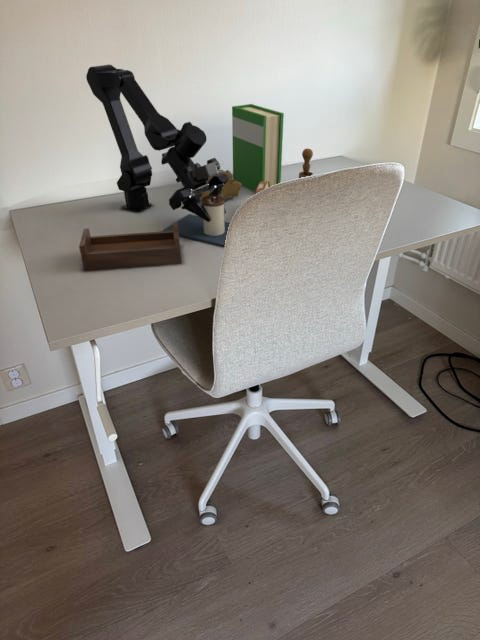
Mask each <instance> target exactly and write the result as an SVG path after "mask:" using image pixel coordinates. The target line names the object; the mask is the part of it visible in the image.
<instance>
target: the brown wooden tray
mask: <svg viewBox="0 0 480 640" xmlns="http://www.w3.org/2000/svg"><path fill="white" fill-rule="evenodd" d="M172 224H173V231H163V230H162V231H148V232H134V233H133V232H132V233H121V234H119V233H118V234H107V235H91V232H90V228H88V227H87V228H83V231H82V235H81V238H80V241H79V244H78V248H79V253H80V257H81V262H82V267H83V271H84V272H89V271H101V270H114V269H127V268H128V269H129V268H141V267H152V266H154V267H155V266H165V265H178V264H182V255H181V243H180V236H179V233H178V224H177V221H175V222H172Z"/></svg>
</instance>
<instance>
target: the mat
mask: <svg viewBox="0 0 480 640" xmlns="http://www.w3.org/2000/svg"><path fill="white" fill-rule="evenodd" d="M176 222H177V224H178V233H179V237H182V238H187V239H191V240H194V241H198V242H201V243H207V244H210V245H213V246H218V247H221V248H222V247H223V248H225V247H224V245H225V240H226V235H227V231H228V227H229V224H230V223H231V222H227V221H225V232H224V233H223V234H221V235H217V236H211V235H207V234H205V233H204V230H203V219H202V218H201V217H199V216H197V215H196V214H191V213H189V214H187V215H185V216H184V217H182V218H180V219H179V220H177V221H176ZM162 231H173V223H171V224H170V225H169V226H167V227H166V228H164V229H163V230H162Z"/></svg>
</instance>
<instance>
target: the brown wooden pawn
mask: <svg viewBox="0 0 480 640" xmlns="http://www.w3.org/2000/svg"><path fill="white" fill-rule="evenodd" d="M301 156H302V158H303V161H304V163H303V164H302V171H300V172H298V179H299V178H301V177H306V176H311V175H314V174H313V172H311V171H310V170H311V166H312V165H311V163H310V161H311V160H312V158H313V156H314V152H313V150H312V148H304V149H303V151H302V152H301Z"/></svg>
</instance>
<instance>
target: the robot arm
mask: <svg viewBox="0 0 480 640" xmlns="http://www.w3.org/2000/svg"><path fill="white" fill-rule="evenodd" d="M85 77H86V82H87V84H88V86H89V88H90V90H91V92H92V95H93V96H94V97H95V98H96V99H97V100H99V102H100V103H102V106H103V108H104V111H105V113H106V117H107V120H108V123H109V125H110V127H111V131H112V134H113V136H114V139H115V142H116V145H117V147H118V150H119V152H120V156H121V158H120V164H119V169H120V173H121V175H120V176H119V179H117V181H116V186H117V188H118V190H119V191H122V192H123V194H124V200H125V201H124V202H125V205H123V206H122V210H123V209H124V210H129V211H131V212H136V213H140V212H142V211H144V210H146V209H148V208H151V206H152V203H151V202H150V199H149V194H148V192H147V187H148V186H151V183H152V182H151V181H152V176H153V171H152V170H153V167H152V166H151V163H150V159H149V157H148V155H147V154H144V155H143V154H142V153H141V152H140V151H139V149H138V146H137V144H136V141H135V138H134V135H133V133H132V129H131V127H130V123H129V120H128V118H127V115H126V112H125V109H124V106H123V103H122V101H121V95H122V96H123V97H124V99H125V100H126V102H127V103H128V104H129V106H130V108H131V110H133V112H134V113H135V115H136V116H137V118H138V119H139V121H140V122H141V123H142V125H143V127H144V128H143V129H144V136H145V138H146V140H147V142H148V143H149V145H150V146H151V148H152V149H153V150H154V151H159V152H160V151H163V150H167V149H168V150H167V151H166V152H163V153H161V161H160V162H161V165H162V166H163V165H166V164H168V165H169V167H170V168H171V170H172V171H173V172H174V175H175V176H176V178H175V182H176V183H177V184H178V183H181V185H182V187H180V188H179V189H176V190H175V191H174V192H173V194H172V195H171V196H170V197H169V199H168V202H169V203H168V204H169V206H170V208H171V209H172V210H173V211H175V210H177V209H179V208H181V210H186V211H187V212H189V213H192V214H193V215H196V216H199V217H201V218H202V219H204V220H206V221H207V222H210V221H211V218H210V216H209V214H208V213H207V211H206V210H205V208H204V206H203V205H202V203H201V200H200V195H199V194H201V193H203V192H207V193H208V196H211V195H216V196H221V197H222V193H221V192H222V187H223V186H224V185H225V184H226V183H227V182H228V181H229V178H228V177H227V175H226V174H225V173H218V170H221V164H220V162H219V161H218V159H217V158H216V157H212V158H210V159H208V160H206V164H204V165H201V164H200V163H199V162H196V163H194V161H193V158H195V157H196V155H198V153H199V152H200V151H201V149H202V148H203V146H205V144H206V142H207V135H206V133H205V131H204V130H202V129H201V128H200V127H199V126H197V125H194V124H193V123H192V122H191V121H187V122H184V123H183V125H182V126H181V128H180V129H178V128H177V127H176V126H175V125H174V124H173V123H172V121H171V120H170V119H168V118H167V117H165V116H164V115H162V114H160V112H159V111H158V110H157V109H156V107H155V106H154V104H153V103H152V101H151V100H150V99H149V97H148V96H147V94H146V93H145V91H144V90H143V89H142V87H141V86H140V85H139V82H137V80H136V78H135V75H134V73H133V72H132V71H131V70H128V69H124V68H116V66H113V64H103V65H102V64H101V65H94V66H90V67H88V69H87V72H86V75H85ZM214 174H216V175H214ZM212 175H214V176H213V177H212V178H211V179H210V177H211V176H212ZM209 179H210V180H209ZM208 180H209V182H208V183H207V181H208ZM202 188H203V189H202ZM225 214H227V210H226V207H225V205H224V215H225Z"/></svg>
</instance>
